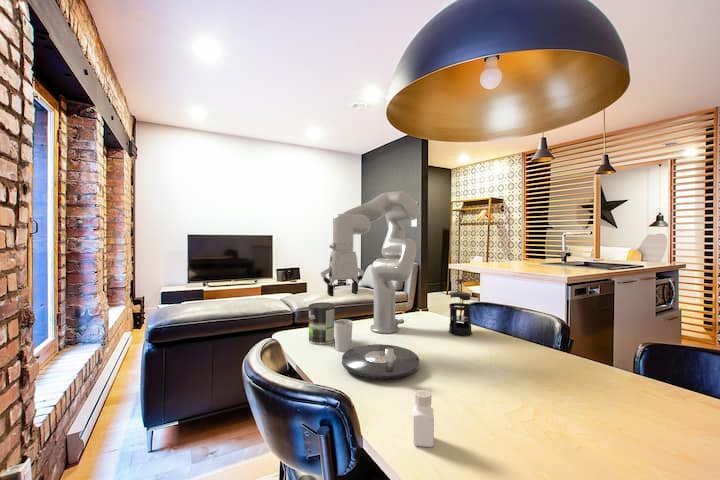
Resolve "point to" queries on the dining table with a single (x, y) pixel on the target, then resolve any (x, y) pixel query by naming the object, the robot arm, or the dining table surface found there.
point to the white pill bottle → (423, 420)
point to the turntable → (380, 361)
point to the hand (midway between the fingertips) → (342, 294)
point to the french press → (455, 327)
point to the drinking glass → (343, 335)
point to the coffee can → (321, 323)
